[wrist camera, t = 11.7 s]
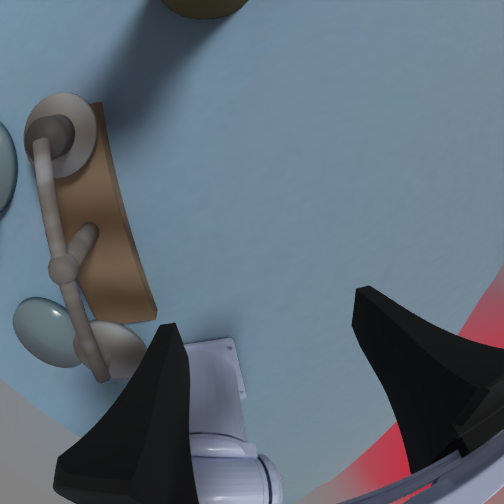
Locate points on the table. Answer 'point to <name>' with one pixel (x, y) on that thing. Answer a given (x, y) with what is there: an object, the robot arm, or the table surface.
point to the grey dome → (7, 167)
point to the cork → (204, 7)
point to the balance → (88, 233)
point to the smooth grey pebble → (46, 331)
